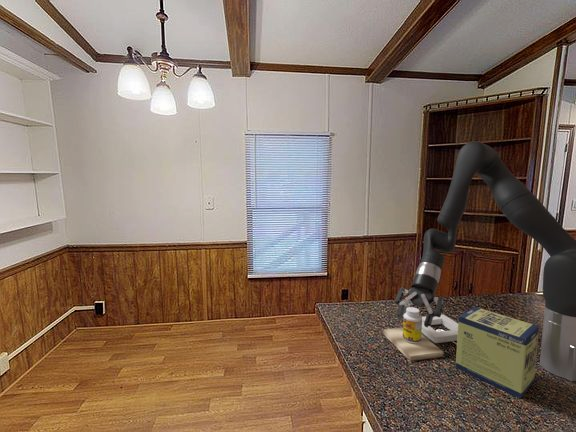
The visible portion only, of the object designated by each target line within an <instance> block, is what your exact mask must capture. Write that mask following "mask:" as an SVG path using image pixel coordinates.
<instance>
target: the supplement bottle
mask: <svg viewBox="0 0 576 432" xmlns="http://www.w3.org/2000/svg"><path fill="white" fill-rule="evenodd" d="M420 312H421V311H420V309H419V308H417V307H413V306H407V307H405V312H404V313H403V315H402V319H403V320H402V327H403V339H404V340H405V341H407V342H409V343H419V342H420V341H421V334H423V333H422V317H423V316H422V315H420V314H421V313H420Z"/></svg>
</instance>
